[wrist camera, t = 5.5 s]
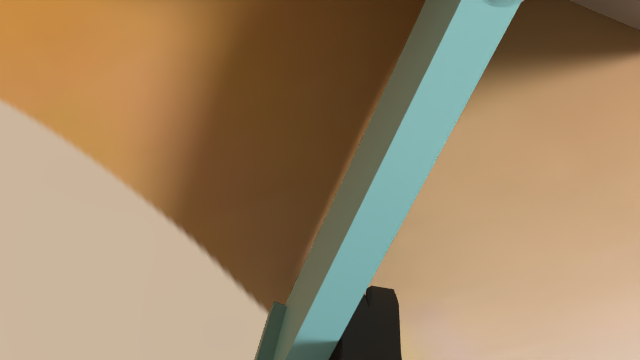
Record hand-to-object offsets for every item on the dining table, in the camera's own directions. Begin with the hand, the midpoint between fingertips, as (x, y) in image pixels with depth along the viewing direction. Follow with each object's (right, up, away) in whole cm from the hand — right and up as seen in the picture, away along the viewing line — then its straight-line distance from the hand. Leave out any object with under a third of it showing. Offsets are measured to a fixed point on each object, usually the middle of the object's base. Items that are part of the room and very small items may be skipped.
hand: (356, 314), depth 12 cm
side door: (0, +4, 0) cm, 4 cm away
